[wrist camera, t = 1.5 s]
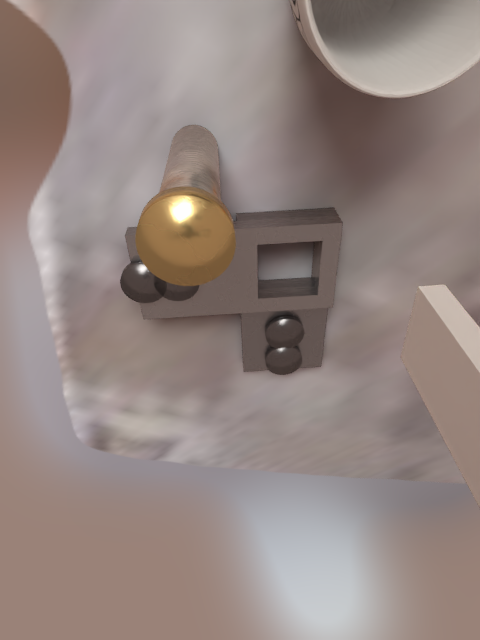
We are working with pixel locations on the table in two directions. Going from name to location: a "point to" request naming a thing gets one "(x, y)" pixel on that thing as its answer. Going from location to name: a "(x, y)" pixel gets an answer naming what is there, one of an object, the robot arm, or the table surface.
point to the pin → (188, 215)
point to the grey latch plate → (284, 318)
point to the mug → (392, 42)
